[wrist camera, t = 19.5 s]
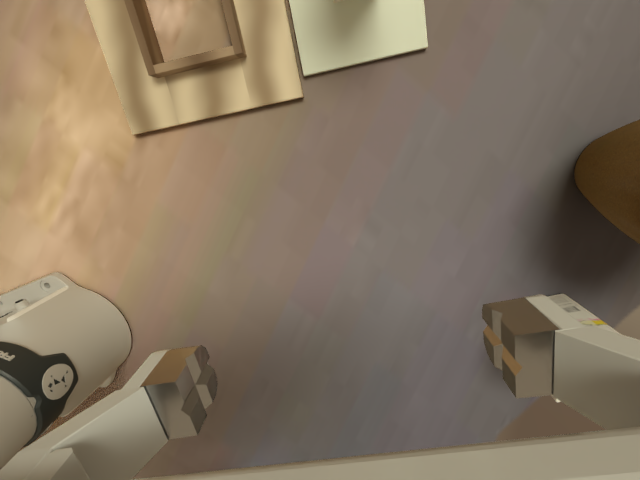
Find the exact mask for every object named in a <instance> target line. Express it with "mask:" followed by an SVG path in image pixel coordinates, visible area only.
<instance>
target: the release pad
mask: <svg viewBox="0 0 640 480" xmlns="http://www.w3.org/2000/svg"><path fill="white" fill-rule="evenodd" d="M289 3H290V8H291V13H292V18H293V23H294V28H295V33H296V39H297V44H298V49H299V54H300V59H301V64H302V69H303V74H304V77H305V76H310V75H314V74H318V73H323V72H327V71H331V70H336V69H340V68H344V67H349V66H353V65H357V64H362V63H366V62H370V61H375V60H379V59H383V58H387V57H392V56H396V55H400V54H405V53H409V52H413V51H418V50H422V49H426V48H427V47H428V43H427V32H426V20H425V9H424V0H345V1H341V2H337V3H333V0H289Z"/></svg>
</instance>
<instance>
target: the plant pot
mask: <svg viewBox="0 0 640 480" xmlns="http://www.w3.org/2000/svg"><path fill="white" fill-rule="evenodd" d="M574 176H575V182H576V185H577V187H578V188H579V190H580V191H581V192H582V194H583V195H584V196H585V197H586V198H587V200H588V201H589V202H590V203H591V204H592V205H593V206H594V207H595V208H596V209H597V210H598V211H599V212H600V213H601V214H602V215H603V216H604V217H605V218H607V219H608V220H609V221H610V222H611V223H612V224H613V225H615V226H616V227H617V228H618V229H620V230H621V231H622V232H623V233H625V234H626V235H628V236H629V237H630V238H632V239H633V240H634V241H636V242H637V243H639V244H640V120H637V121H635V122H632V123H630V124H627V125H625V126H623V127H621V128H618V129H616V130H614V131H612V132H610V133H608V134H606V135H604V136H602V137H600V138H598V139H596V140H594V141H593V142H592V143H591V144H589V145H588V146H587V147H586V148H585V149H584V151H583V152H582V153H581V155H580V157H579V158H578V160H577V163H576V166H575V173H574Z"/></svg>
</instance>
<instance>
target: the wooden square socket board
mask: <svg viewBox="0 0 640 480" xmlns="http://www.w3.org/2000/svg"><path fill="white" fill-rule="evenodd" d="M84 1H85V4H86V6H87V9H88V12H89V15H90V18H91V20H92V23H93V26H94V29H95V32H96V34H97V37H98V40H99V43H100V45H101V48H102V51H103V54H104V57H105V59H106V62H107V65H108V68H109V70H110V73H111V76H112V79H113V82H114V84H115V87H116V90H117V93H118V96H119V98H120V101H121V104H122V107H123V109H124V112H125V115H126V118H127V121H128V123H129V126H130V129H131V132H132V135H138V134H143V133H147V132H152V131H156V130H161V129H165V128H170V127H174V126H178V125H183V124H187V123H192V122H196V121H201V120H205V119H210V118H214V117H219V116H223V115H227V114H232V113H236V112H241V111H245V110H250V109H254V108H259V107H263V106H267V105H272V104H276V103H281V102H285V101H290V100H294V99H299V98H303V97H304V96H303V91H302V85H301V80H300V75H299V70H298V65H297V60H296V55H295V50H294V45H293V40H292V35H291V30H290V25H289V20H288V15H287V10H286V5H285V0H221V2H222V6H223V10H224V14H225V18H226V22H227V26H228V30H229V34H230V38H231V42H232V46H229V47H225V48H221V49H216V50H212V51H208V52H204V53H200V54H196V55H192V56H188V57H184V58H180V59H176V60H172V61H168V62H164V60H163V57H162V54H161V50H160V47H159V44H158V41H157V38H156V34H155V31H154V28H153V25H152V21H151V18H150V15H149V12H148V9H147V5H146V2H145V0H84Z"/></svg>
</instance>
